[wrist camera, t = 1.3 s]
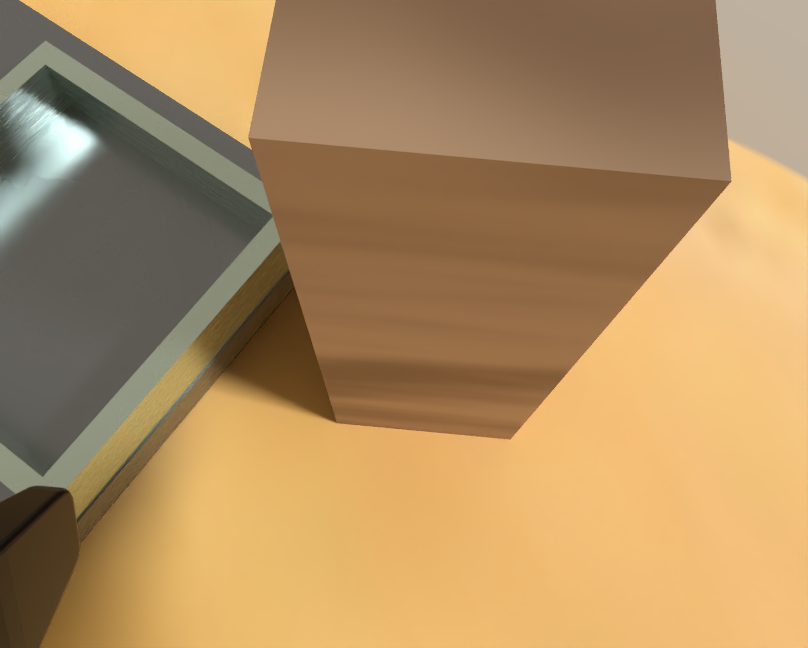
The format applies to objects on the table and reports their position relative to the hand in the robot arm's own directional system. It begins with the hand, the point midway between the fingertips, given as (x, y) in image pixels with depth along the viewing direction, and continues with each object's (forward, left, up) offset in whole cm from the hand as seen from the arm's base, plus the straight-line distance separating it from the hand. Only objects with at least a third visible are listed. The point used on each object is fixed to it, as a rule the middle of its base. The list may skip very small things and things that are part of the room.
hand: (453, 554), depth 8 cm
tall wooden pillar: (+6, +3, -13) cm, 15 cm away
